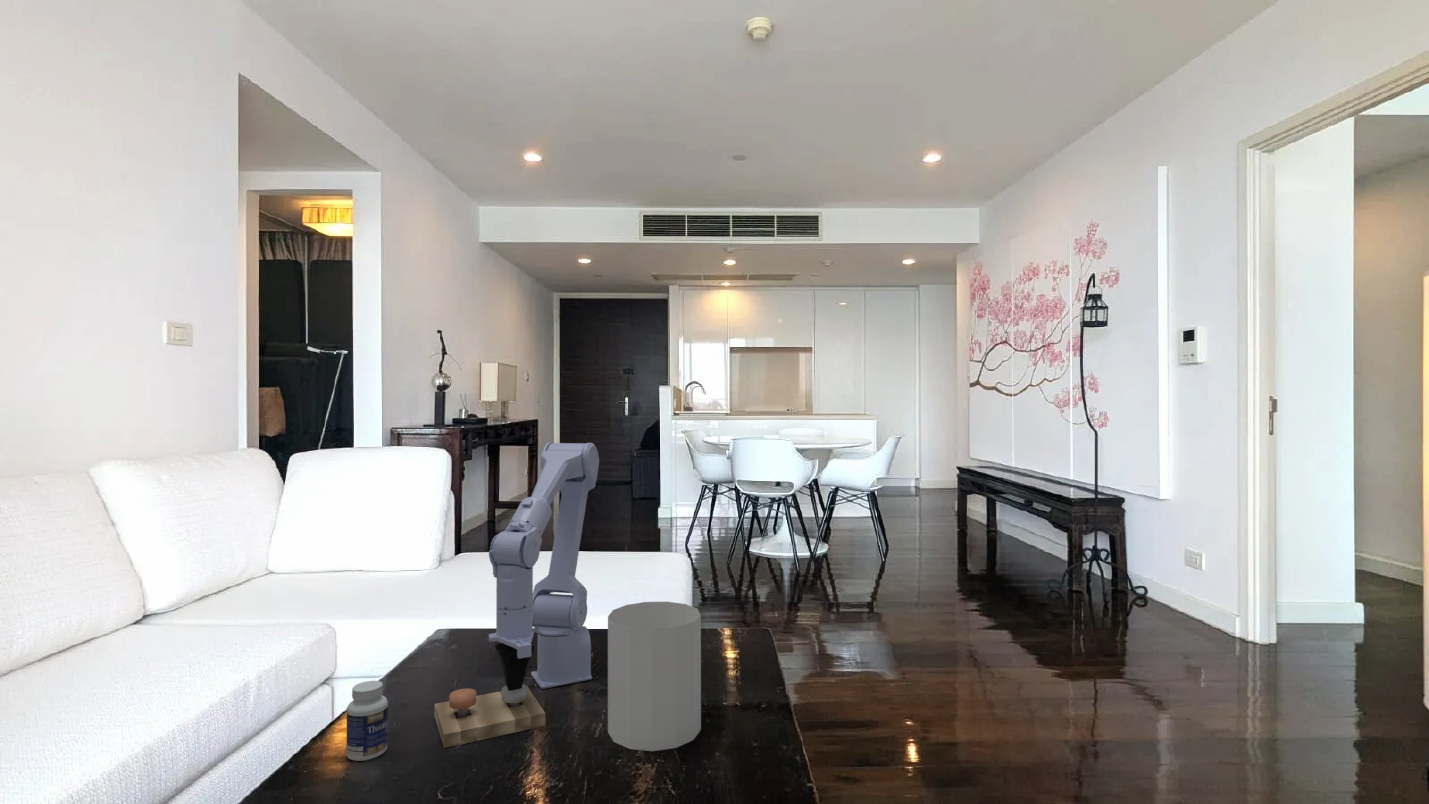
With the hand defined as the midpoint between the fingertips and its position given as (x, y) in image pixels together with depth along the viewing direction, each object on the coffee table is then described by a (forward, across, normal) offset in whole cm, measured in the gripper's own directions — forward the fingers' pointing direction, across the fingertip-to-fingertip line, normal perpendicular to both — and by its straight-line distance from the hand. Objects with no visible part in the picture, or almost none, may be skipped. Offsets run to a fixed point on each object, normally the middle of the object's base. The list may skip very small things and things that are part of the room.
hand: (514, 688), depth 112 cm
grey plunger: (+4, 0, 0) cm, 4 cm away
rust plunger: (+3, 0, -8) cm, 9 cm away
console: (+4, 0, -4) cm, 6 cm away
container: (+5, +15, +18) cm, 24 cm away
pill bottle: (+5, +2, -22) cm, 22 cm away
